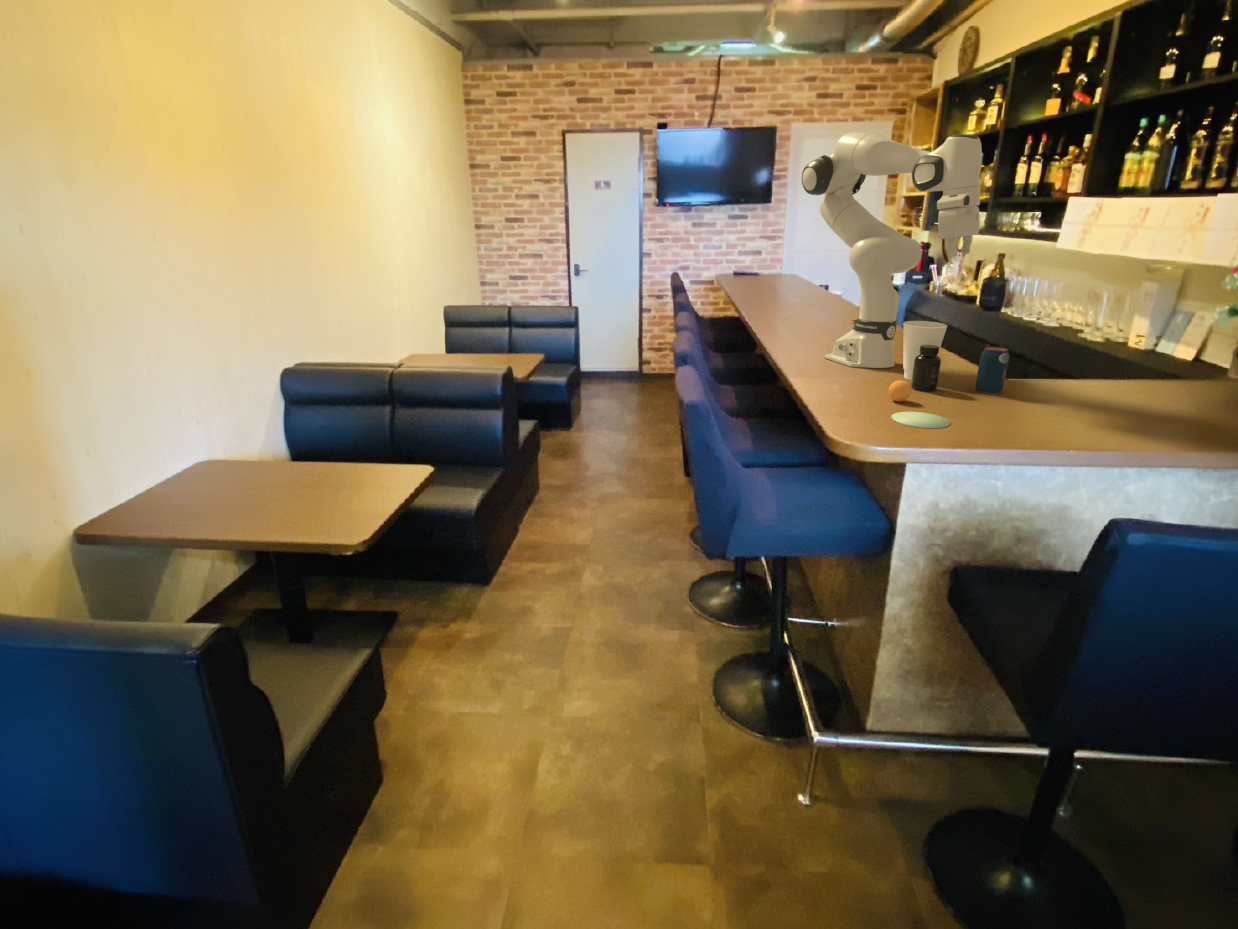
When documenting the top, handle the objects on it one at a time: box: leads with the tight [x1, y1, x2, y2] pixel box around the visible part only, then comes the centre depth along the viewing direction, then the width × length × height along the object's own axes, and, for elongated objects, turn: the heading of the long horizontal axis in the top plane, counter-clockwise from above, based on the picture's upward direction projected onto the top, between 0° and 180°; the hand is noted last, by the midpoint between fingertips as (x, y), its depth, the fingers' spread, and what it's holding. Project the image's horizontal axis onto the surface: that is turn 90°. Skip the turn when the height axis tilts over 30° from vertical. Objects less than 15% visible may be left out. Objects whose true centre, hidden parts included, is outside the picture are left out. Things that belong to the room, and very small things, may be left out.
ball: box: [888, 380, 912, 402], centre depth 181 cm, size 6×6×6 cm
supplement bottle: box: [910, 345, 942, 392], centre depth 192 cm, size 7×7×12 cm
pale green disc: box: [890, 411, 951, 429], centre depth 166 cm, size 13×13×1 cm
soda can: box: [974, 345, 1011, 395], centre depth 190 cm, size 7×7×12 cm
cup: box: [902, 320, 948, 381], centre depth 203 cm, size 12×12×16 cm
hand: (959, 254), depth 187 cm, fingers open, 8 cm apart
